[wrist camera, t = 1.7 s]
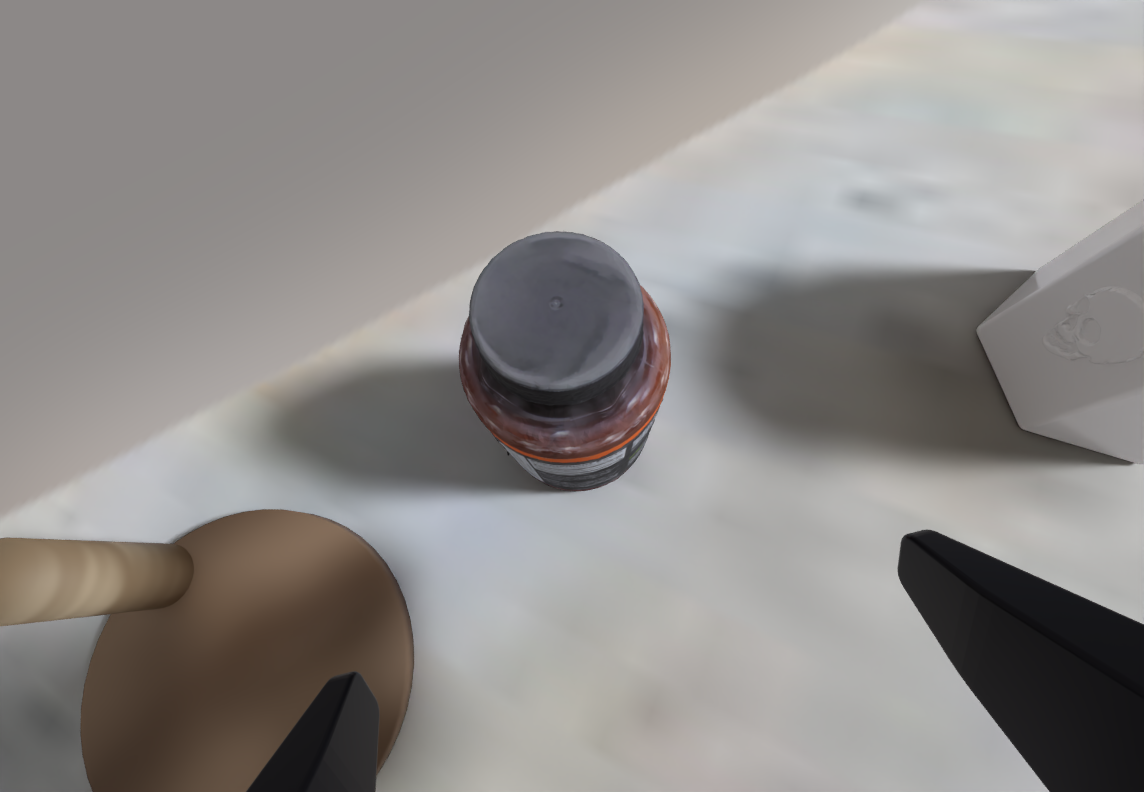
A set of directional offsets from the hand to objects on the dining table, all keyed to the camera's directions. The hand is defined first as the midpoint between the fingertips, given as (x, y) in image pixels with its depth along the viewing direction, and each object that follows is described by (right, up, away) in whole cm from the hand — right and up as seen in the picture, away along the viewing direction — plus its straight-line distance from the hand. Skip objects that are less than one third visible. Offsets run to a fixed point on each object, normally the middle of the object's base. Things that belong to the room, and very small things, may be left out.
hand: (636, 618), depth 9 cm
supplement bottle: (-1, +2, +14) cm, 14 cm away
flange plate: (-13, -7, +12) cm, 19 cm away
